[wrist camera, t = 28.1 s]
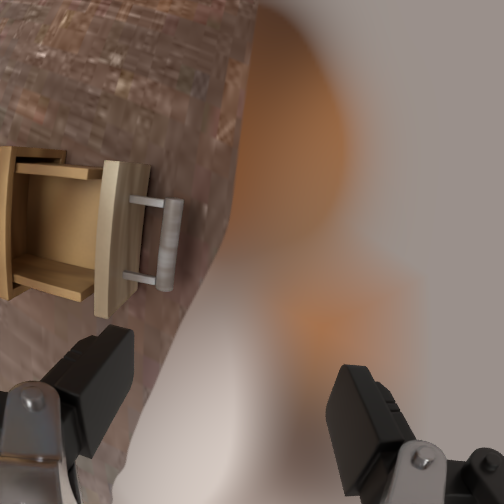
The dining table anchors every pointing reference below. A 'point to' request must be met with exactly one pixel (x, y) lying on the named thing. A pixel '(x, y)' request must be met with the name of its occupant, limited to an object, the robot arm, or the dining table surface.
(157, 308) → the dining table surface
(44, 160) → the cabinet
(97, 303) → the drawer
